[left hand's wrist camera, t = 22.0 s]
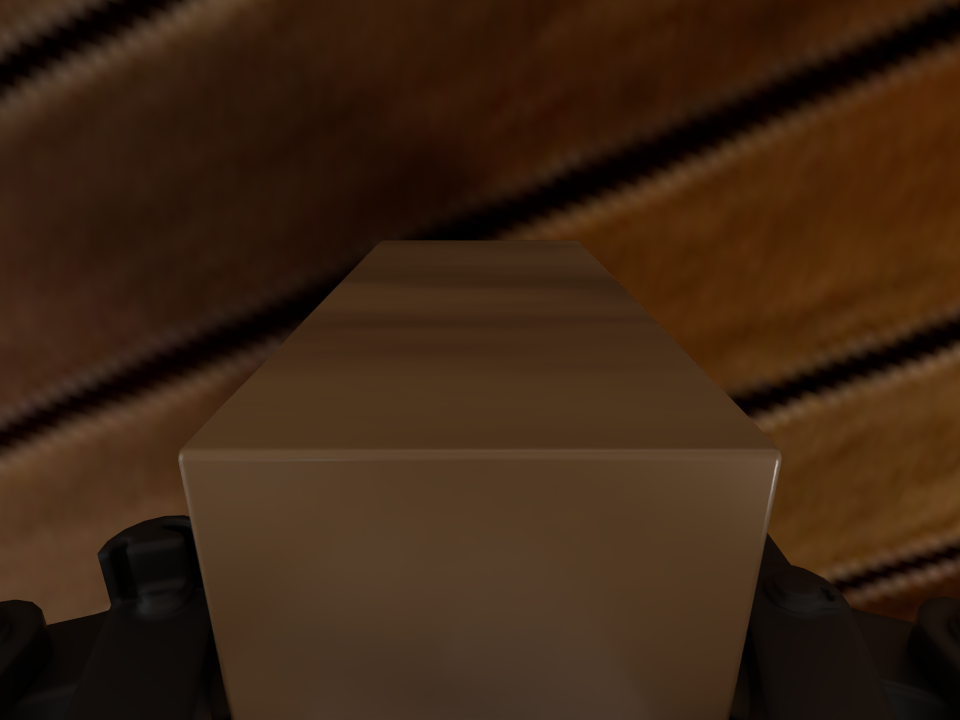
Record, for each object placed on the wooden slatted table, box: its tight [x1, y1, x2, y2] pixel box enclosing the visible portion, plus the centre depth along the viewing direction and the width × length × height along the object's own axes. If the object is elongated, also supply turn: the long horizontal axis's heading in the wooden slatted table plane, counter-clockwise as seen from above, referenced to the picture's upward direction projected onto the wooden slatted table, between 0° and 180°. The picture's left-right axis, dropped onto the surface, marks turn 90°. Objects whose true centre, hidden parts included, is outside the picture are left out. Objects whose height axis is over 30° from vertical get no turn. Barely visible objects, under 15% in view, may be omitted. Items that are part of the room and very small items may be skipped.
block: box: [178, 241, 782, 720], centre depth 11 cm, size 8×5×11 cm
